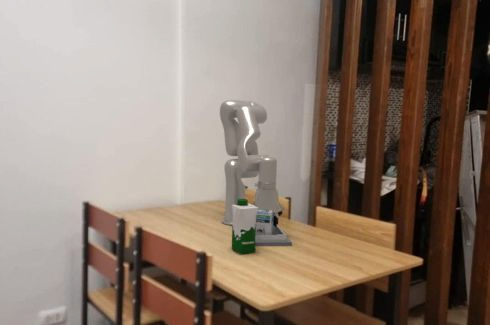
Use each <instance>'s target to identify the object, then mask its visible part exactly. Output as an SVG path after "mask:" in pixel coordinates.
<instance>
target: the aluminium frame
mask: <svg viewBox="0 0 490 325" xmlns="http://www.w3.org/2000/svg"><path fill="white" fill-rule="evenodd" d="M274 232H277V233H278V234H271V235H255V241H287V237H288V234H287V233H286V232H285V231H284V229H282V227H281V226H280V225H277V227H275V226H274Z"/></svg>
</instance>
